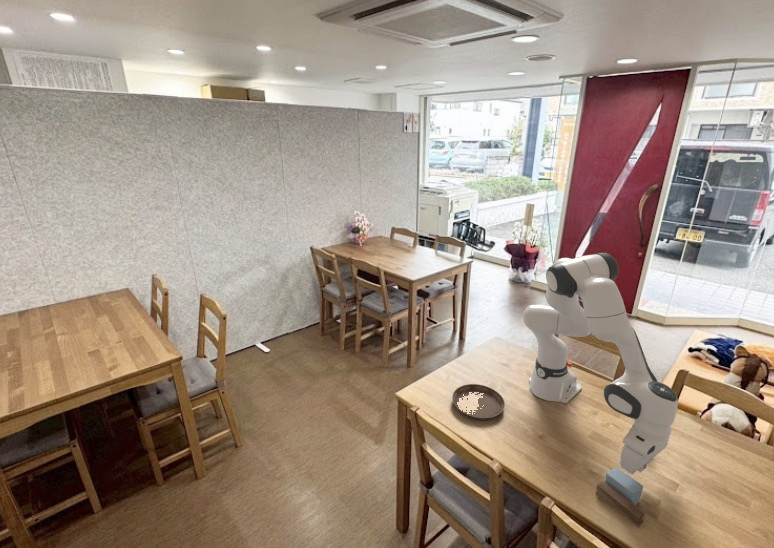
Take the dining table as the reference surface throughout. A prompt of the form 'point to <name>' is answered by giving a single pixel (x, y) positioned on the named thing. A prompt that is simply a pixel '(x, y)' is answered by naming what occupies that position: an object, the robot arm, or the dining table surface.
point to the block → (624, 485)
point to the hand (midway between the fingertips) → (640, 468)
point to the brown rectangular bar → (620, 503)
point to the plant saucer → (481, 401)
